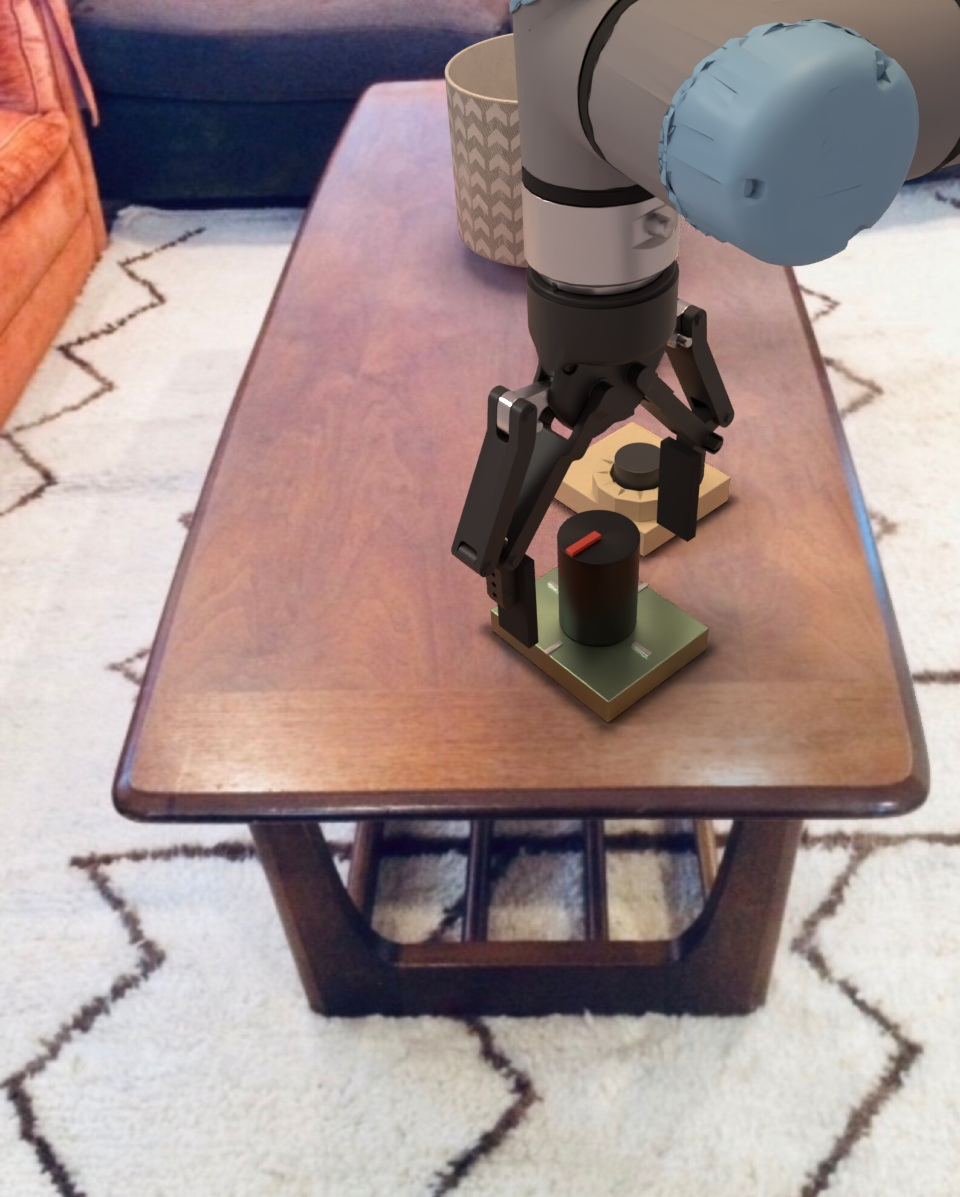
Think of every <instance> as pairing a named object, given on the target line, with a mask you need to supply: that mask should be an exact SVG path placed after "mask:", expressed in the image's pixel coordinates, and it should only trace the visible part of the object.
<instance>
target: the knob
mask: <svg viewBox="0 0 960 1197" xmlns="http://www.w3.org/2000/svg"><path fill="white" fill-rule="evenodd" d="M556 545H557V546H556V548H557V549H556V550H557V554H556V555H557V556H556V557H557V566H558V597H559V622H560V625H561V627H562V629H563V631H564V632H565V633H566V634H567V635H568V636H569V637H571V638H572V639H574V640H576V641H578V642H580V643H583V644H587V645H595V646H602V645H609V644H613V643H616V642H619V641H621V640H622V639H624V638H626V637H627V636H628V635H629V634H630V633H631V632H632V631H633V629H634V627H635V625H636V622H637V602H638V581H640V580H639V579H640V560H641V558H640V556H641V554H640V532H639V529H638V527H637V526H636V524H635V523H634V522H633V521H632V520H631V519H629V518H628V517H626V516H624V515H622V514H620V513H617V512H613V511H608V510H589V511H584V512H581V513H575V514H573V515H571V516H570V517H568V518H567V519H565V521H564V522H562V524H561V525H560V526H559V528H558V531H557V534H556Z"/></svg>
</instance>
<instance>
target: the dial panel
mask: <svg viewBox="0 0 960 1197" xmlns="http://www.w3.org/2000/svg"><path fill="white" fill-rule="evenodd" d="M535 582H536V602H537V621H538V641H539V643H537V644H536V645H534V646H533V647H531V648H530V649H529V648H527V647H526V646H525V645H523V644H522V643H521V642H520V641H518V640H517V639H516V638H514V637H513V636H512V635H511V634H509V633H508V632H507V631H505V630H504V629H503V628H502V627H500V626H499V618H498V607H497V605H495V606H493V607H492V608H491V609H490V622H491V630H492V631H493V633H495V634H496V635H497V636H499V637H500V638H501V639H502V640H504V641H505V642H506V643H508V644H509V645H510V646H511V647H513V648H514V649H515V650H516V651H518V653H520V654H521V655H523V656H524V657H525V658H526V659H527V660H529V661H530V662H531V663H533V664H534V665H535V666H536V667H537V668H539V669H540V670H541V671H542V672H544V673H545V674H546V675H548V676H549V677H550V678H551V679H552V680H554V681H555V682H556V683H558V685H560V686H561V687H562V688H564V689H565V690H566V691H568V692H569V693H570V694H571V695H573V696H574V697H575V698H576V699H578V701H580V702H581V703H582V704H584V705H585V706H586V707H587V708H589V709H590V710H591V711H592V712H594V713H595V714H596V715H597V716H599V717H600V718H601V719H603V720H604V721H605V722H606V723H611V721H612V720H614V719H615V718H617V717H618V716H619V715H620V714H622V713H623V712H624V711H626V710H627V709H628V708H630V707H631V706H633V705H634V704H635V703H637V701H640V700H641V699H642V698H643V697H644V696H646V695H647V694H649V693H650V692H652V691H653V690H654V689H655V688H656V687H658V686H660V685H661V684H662V683H663V682H664V681H666V680H667V679H668V678H670V677H672V676H673V675H674V674H675V673H677V672H678V671H679V670H681V669H682V668H684V667H685V666H686V665H688V664H689V663H690V662H691V661H693V660H694V659H696V658H697V657H698V656H699V655H701V654H702V653H703V652H705V651H706V650H707V648H708V640H709V631H710V628H709V627H708V626H707V625H706V624H704V623H703V622H700V620H698V619H696V618H695V617H694V616H692V615H690V614H689V613H688V612H686V611H685V610H683V609H681V608H680V607H679V606H678V605H676V604H674V603H673V602H672V601H670V600H668V599H667V598H665V597H664V596H663V595H661V594H659V593H658V592H656V591H655V590H654V589H652V588H651V587H650V583H649V582H647V581H644V582H641V581H640V580H639V581H638V602H637V622H636V625H635V627H634V629H633V631H632V632H631V633H630V634H629V635H628V636H627V637H626V638H624V639H622V640H621V641H619V642H616V643H613V644H609V645H602V646H595V645H587V644H583V643H580V642H578V641H576V640H574V639H572V638H571V637H569V636H568V635H567V634H566V633H565V632H564V631H563V629H562V627H561V625H560V622H559V597H558V565H557V566H555V567H554V568H552V569H551V570H549V571H548V572H546V573H544V574H542V576H540V577H538V578H536V579H535Z"/></svg>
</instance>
